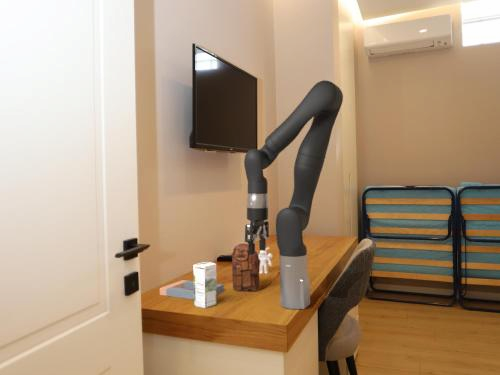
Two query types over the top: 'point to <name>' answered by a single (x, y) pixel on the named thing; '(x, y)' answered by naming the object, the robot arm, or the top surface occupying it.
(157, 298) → the top surface
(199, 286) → the syrup box
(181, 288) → the keyhole board
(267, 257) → the flower shoulder figurine
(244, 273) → the wooden figurine
